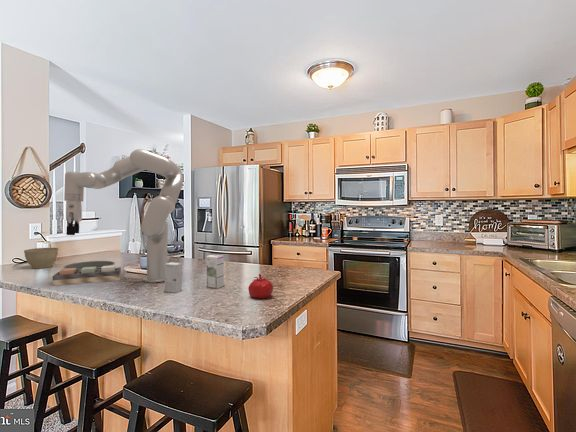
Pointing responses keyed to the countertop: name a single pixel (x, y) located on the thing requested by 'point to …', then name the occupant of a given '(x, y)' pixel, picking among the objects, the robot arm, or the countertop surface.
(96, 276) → the keypad
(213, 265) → the syrup box
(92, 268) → the key middle
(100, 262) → the cake pan
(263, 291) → the pomegranate
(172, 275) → the skincare box
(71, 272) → the key
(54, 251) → the planter bowl
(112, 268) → the key
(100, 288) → the countertop surface
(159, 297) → the countertop surface
